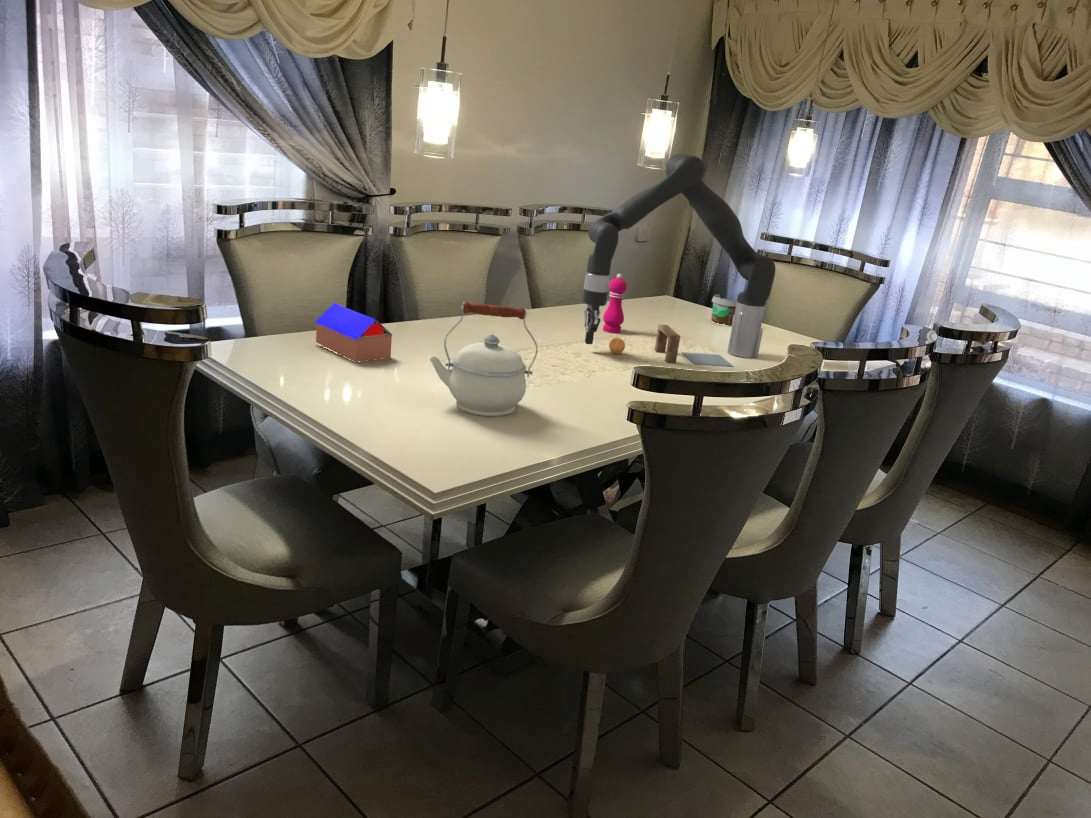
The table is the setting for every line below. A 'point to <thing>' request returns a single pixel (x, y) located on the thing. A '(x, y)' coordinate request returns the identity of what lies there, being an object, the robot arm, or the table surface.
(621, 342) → the ball
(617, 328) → the pepper mill
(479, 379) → the kettle
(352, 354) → the house
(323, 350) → the table surface
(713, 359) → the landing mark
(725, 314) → the food container
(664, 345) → the bridge
